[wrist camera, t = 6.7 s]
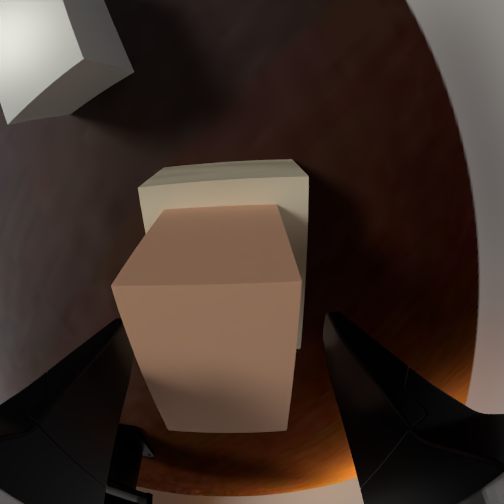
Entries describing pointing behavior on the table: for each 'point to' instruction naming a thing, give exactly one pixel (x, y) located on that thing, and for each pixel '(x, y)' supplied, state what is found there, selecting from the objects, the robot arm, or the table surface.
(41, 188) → the table surface
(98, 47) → the grey brick
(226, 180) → the birch brick
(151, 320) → the terracotta brick
